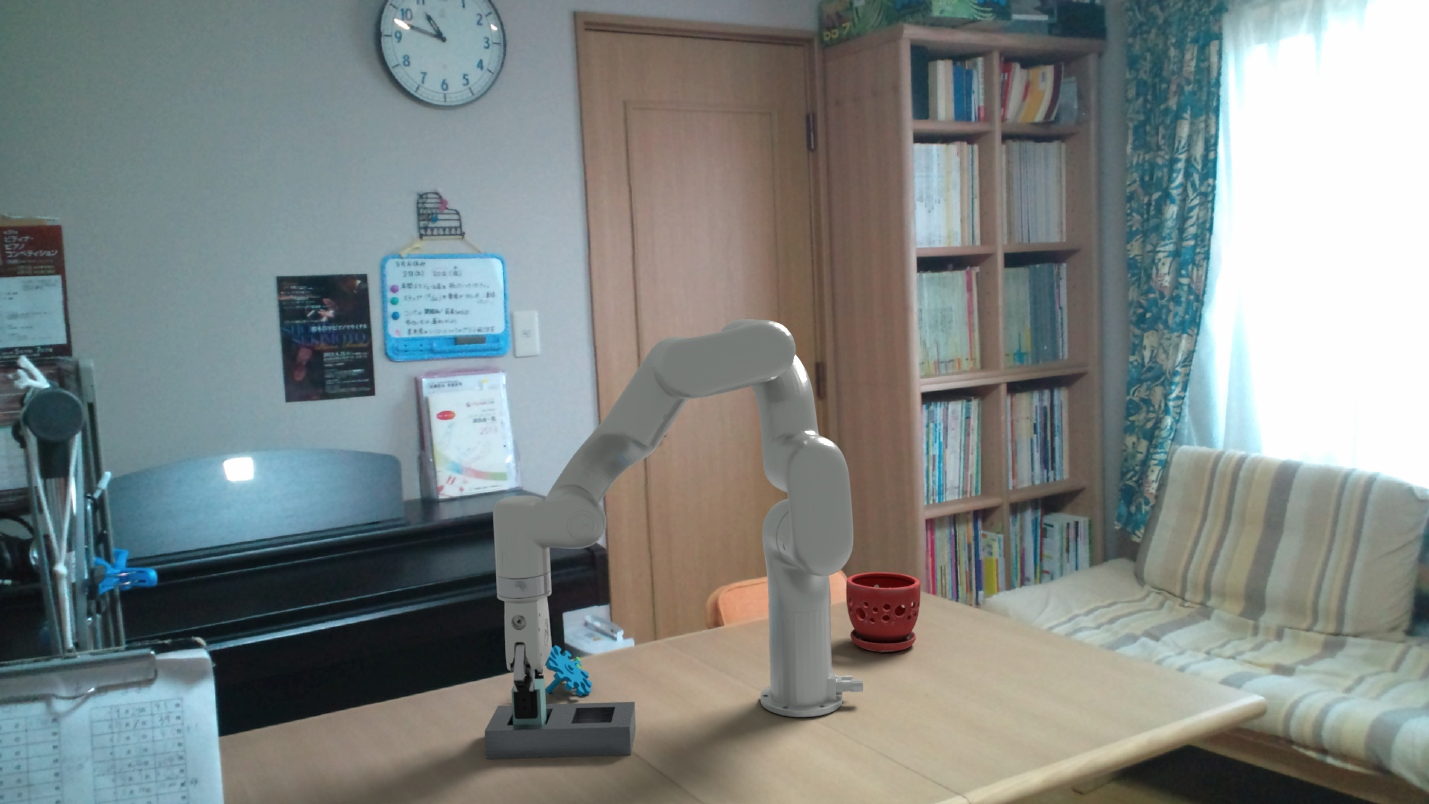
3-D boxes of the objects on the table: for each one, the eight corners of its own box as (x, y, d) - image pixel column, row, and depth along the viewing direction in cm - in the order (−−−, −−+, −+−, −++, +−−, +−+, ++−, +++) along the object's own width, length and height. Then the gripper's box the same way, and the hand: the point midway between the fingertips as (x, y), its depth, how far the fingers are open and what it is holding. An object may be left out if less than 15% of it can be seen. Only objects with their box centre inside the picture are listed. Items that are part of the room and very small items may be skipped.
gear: (582, 697, 160) (539, 649, 161) (557, 722, 160) (514, 675, 162) (604, 680, 170) (564, 636, 172) (580, 705, 171) (540, 660, 173)
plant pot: (927, 655, 178) (926, 587, 177) (851, 657, 178) (850, 589, 177) (914, 631, 191) (913, 568, 190) (843, 633, 191) (842, 570, 190)
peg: (547, 739, 149) (544, 678, 148) (543, 751, 145) (540, 689, 144) (519, 740, 149) (516, 679, 148) (514, 752, 145) (511, 690, 144)
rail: (635, 728, 151) (634, 701, 151) (630, 754, 142) (629, 726, 142) (499, 732, 151) (498, 705, 151) (486, 759, 142) (484, 731, 142)
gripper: (540, 601, 136) (546, 734, 138) (559, 568, 153) (565, 687, 155) (483, 603, 136) (490, 736, 138) (509, 569, 153) (515, 688, 155)
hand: (530, 708), depth 146 cm, fingers open, 4 cm apart
